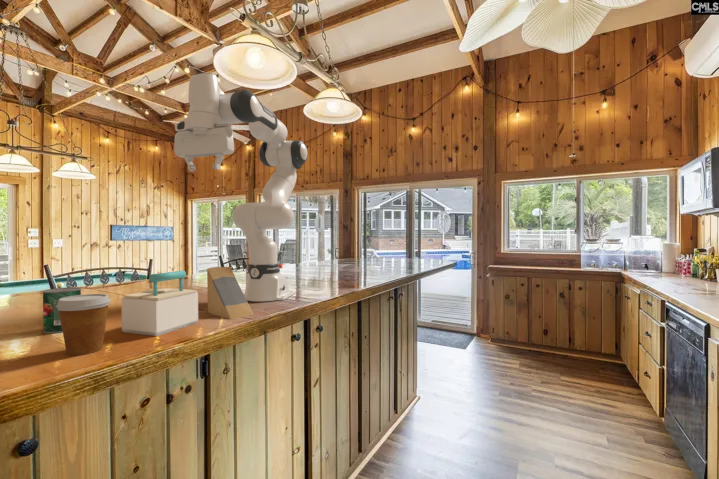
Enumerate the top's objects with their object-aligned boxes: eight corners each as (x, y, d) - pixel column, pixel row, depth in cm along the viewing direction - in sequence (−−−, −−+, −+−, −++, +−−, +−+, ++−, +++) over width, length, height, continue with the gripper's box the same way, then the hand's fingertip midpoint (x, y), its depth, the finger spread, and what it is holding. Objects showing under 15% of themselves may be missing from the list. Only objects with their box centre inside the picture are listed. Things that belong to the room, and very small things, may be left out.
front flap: (158, 300, 86) (157, 275, 86) (141, 299, 88) (141, 274, 88) (196, 292, 99) (196, 270, 99) (181, 291, 100) (181, 269, 100)
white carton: (166, 319, 103) (166, 290, 103) (198, 322, 99) (198, 292, 99) (121, 332, 90) (121, 298, 90) (156, 336, 86) (156, 301, 86)
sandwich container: (230, 320, 103) (230, 271, 103) (206, 312, 113) (206, 268, 113) (255, 315, 110) (255, 269, 109) (230, 308, 119) (230, 266, 119)
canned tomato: (36, 331, 90) (35, 290, 90) (70, 324, 97) (70, 286, 97) (53, 335, 87) (53, 292, 87) (87, 327, 94) (87, 288, 94)
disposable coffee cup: (48, 361, 69) (47, 302, 69) (66, 346, 78) (66, 295, 78) (104, 354, 73) (104, 299, 73) (116, 341, 82) (115, 292, 82)
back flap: (164, 290, 102) (164, 287, 102) (179, 291, 101) (179, 288, 101) (123, 297, 90) (123, 294, 90) (139, 298, 88) (139, 295, 88)
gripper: (238, 125, 105) (238, 170, 105) (186, 131, 111) (186, 173, 111) (224, 118, 99) (224, 166, 99) (170, 125, 105) (170, 170, 105)
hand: (204, 170), depth 105 cm, fingers open, 8 cm apart
